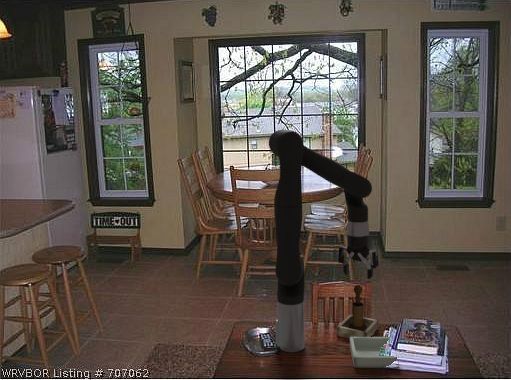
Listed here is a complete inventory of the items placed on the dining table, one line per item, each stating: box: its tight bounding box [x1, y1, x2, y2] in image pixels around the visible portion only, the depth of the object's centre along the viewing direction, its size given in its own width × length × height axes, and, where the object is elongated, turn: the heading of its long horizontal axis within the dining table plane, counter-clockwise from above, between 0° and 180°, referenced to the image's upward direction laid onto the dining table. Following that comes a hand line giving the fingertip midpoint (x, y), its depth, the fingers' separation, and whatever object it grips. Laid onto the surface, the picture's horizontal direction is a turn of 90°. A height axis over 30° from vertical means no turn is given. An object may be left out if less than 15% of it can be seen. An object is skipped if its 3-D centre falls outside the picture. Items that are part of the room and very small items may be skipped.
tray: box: [349, 336, 397, 369], centre depth 174 cm, size 14×14×4 cm
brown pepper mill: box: [348, 284, 367, 332], centre depth 190 cm, size 7×6×18 cm
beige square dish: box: [336, 314, 379, 340], centre depth 191 cm, size 11×12×4 cm
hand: (358, 276), depth 188 cm, fingers open, 8 cm apart
